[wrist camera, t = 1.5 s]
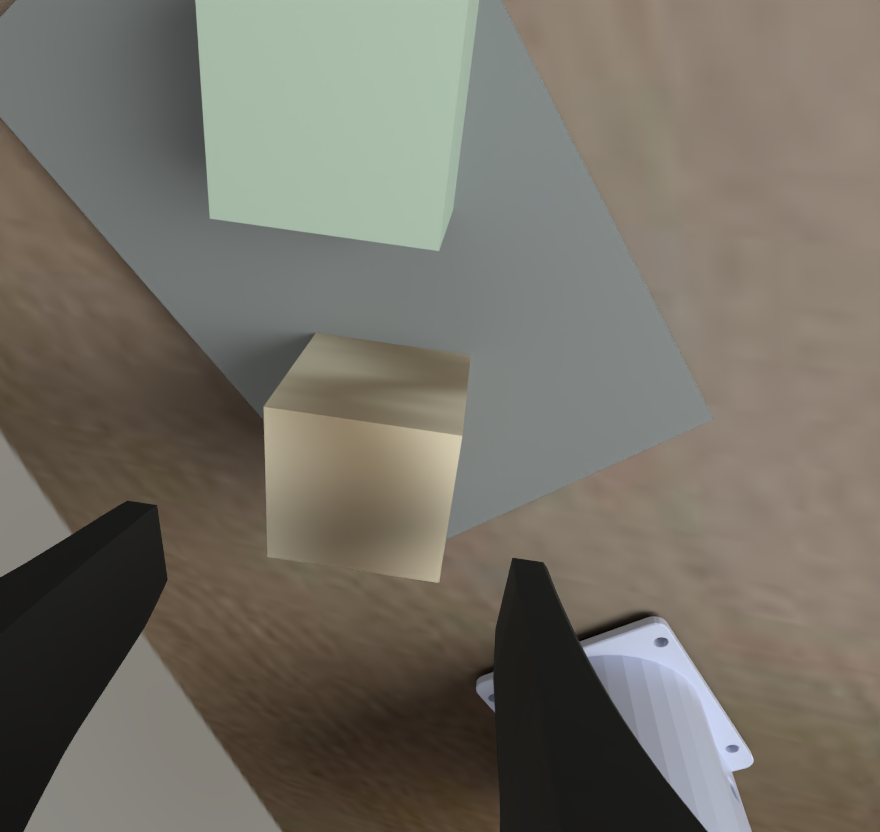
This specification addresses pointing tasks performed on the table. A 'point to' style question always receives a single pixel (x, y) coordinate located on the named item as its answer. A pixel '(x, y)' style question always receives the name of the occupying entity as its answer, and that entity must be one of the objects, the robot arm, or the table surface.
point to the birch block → (364, 456)
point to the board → (368, 248)
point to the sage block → (336, 114)
